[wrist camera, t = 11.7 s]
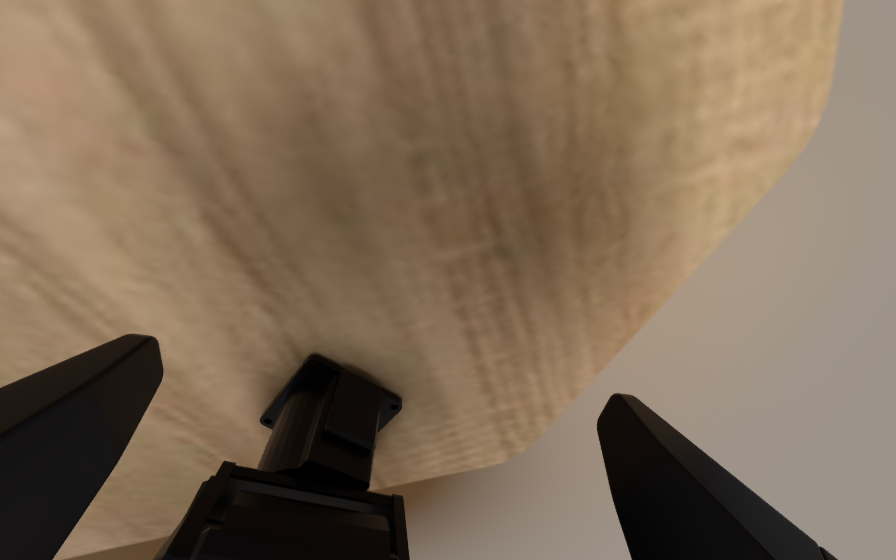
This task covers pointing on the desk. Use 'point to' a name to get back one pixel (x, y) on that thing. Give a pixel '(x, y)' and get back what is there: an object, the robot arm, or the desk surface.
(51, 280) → the desk surface
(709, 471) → the robot arm
